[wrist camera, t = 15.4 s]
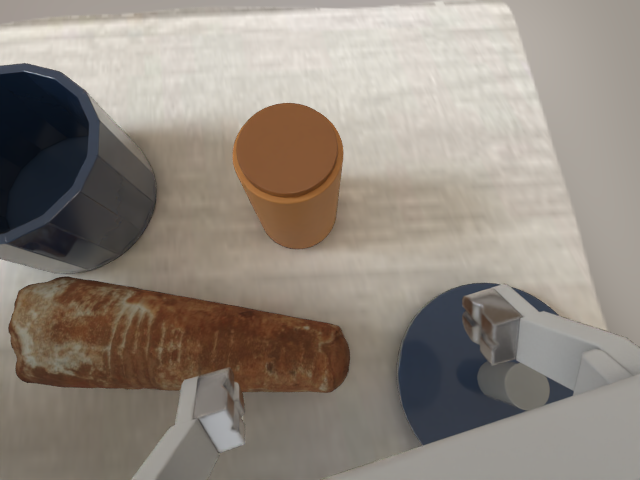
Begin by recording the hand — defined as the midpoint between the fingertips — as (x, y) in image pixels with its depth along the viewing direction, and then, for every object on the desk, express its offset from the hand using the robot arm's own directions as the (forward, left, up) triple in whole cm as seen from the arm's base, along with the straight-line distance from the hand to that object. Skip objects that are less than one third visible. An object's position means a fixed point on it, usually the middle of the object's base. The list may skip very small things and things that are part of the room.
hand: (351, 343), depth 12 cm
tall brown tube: (-1, +10, -13) cm, 16 cm away
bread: (-8, +2, -13) cm, 16 cm away
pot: (-17, +13, -13) cm, 25 cm away
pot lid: (+10, -3, -12) cm, 16 cm away
